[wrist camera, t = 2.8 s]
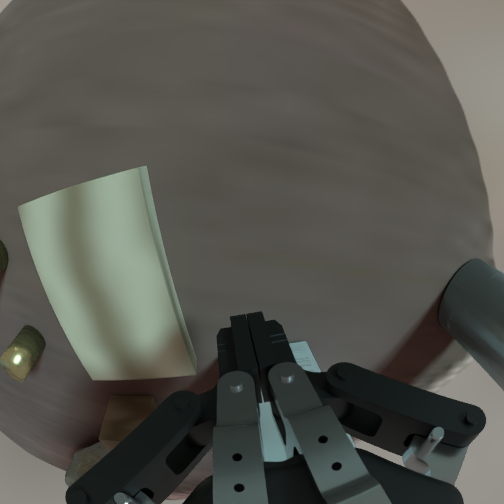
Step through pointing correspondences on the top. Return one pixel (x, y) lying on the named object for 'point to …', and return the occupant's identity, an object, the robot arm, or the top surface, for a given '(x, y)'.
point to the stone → (84, 461)
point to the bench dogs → (20, 342)
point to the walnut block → (124, 417)
